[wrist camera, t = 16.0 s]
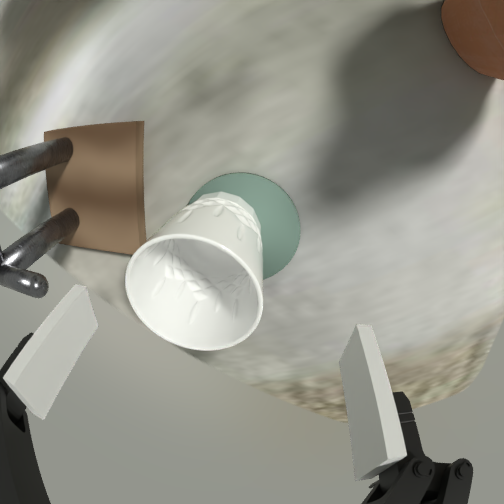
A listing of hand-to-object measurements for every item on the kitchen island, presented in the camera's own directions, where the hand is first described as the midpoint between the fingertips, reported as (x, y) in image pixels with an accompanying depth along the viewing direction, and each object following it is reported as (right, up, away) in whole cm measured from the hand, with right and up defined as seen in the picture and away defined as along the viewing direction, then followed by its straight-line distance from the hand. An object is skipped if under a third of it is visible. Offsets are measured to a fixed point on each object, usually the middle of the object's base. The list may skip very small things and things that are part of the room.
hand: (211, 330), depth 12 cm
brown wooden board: (-13, +10, +11) cm, 20 cm away
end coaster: (+1, +6, +12) cm, 13 cm away
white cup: (-1, +6, +11) cm, 13 cm away
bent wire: (-13, +10, +9) cm, 19 cm away
